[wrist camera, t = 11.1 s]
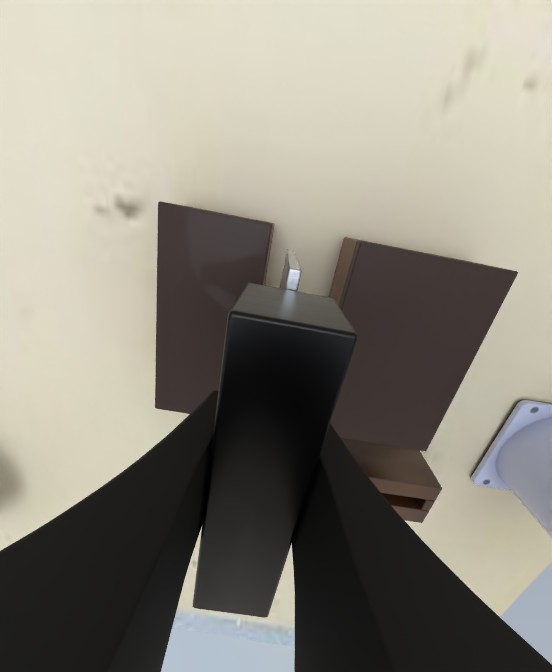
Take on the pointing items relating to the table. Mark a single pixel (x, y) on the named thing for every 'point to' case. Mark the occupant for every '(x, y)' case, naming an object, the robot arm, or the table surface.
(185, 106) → the table surface
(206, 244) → the brown rectangular block
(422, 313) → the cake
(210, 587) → the bench scraper
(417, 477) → the knife block
